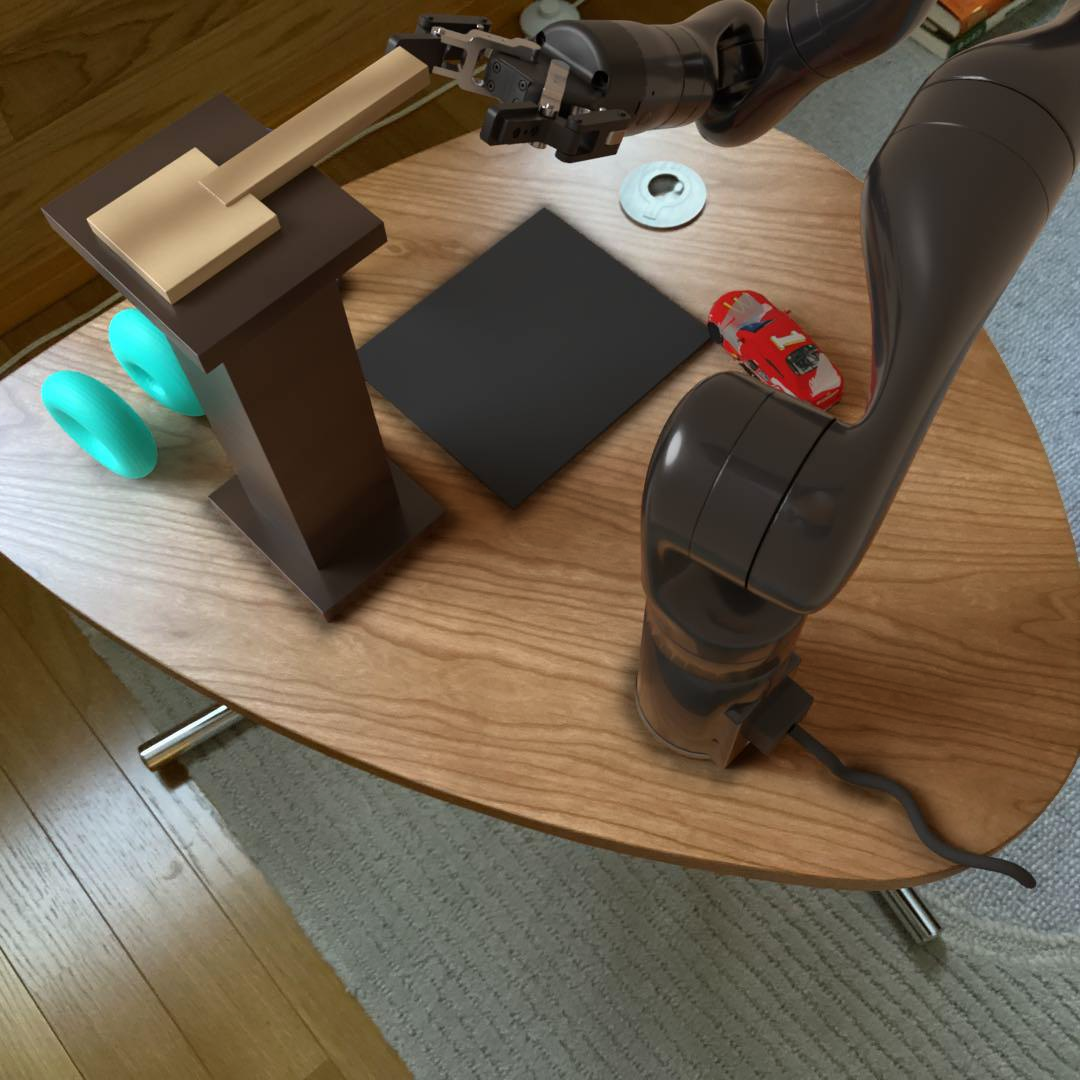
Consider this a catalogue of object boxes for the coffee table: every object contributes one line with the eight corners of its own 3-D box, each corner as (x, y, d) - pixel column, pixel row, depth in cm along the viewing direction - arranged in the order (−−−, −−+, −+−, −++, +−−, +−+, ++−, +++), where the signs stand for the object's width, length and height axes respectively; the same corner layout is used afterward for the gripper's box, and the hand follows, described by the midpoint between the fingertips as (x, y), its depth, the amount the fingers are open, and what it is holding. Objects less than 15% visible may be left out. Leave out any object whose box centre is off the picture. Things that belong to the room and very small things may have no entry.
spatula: (458, 103, 64) (456, 86, 63) (172, 305, 58) (164, 289, 57) (376, 44, 66) (372, 26, 65) (93, 232, 61) (84, 215, 59)
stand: (448, 520, 88) (383, 221, 60) (327, 623, 85) (197, 356, 56) (331, 413, 93) (220, 91, 65) (212, 506, 90) (39, 207, 61)
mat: (715, 336, 96) (715, 332, 95) (513, 511, 89) (513, 508, 88) (544, 210, 103) (544, 206, 102) (345, 363, 96) (344, 359, 95)
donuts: (66, 443, 93) (11, 369, 84) (154, 359, 97) (110, 279, 88) (154, 505, 90) (107, 434, 81) (242, 416, 94) (206, 339, 85)
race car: (692, 322, 96) (699, 289, 92) (744, 294, 97) (753, 261, 94) (795, 434, 91) (806, 405, 87) (848, 403, 92) (861, 373, 89)
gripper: (548, -23, 79) (372, -32, 68) (706, 77, 74) (545, 86, 62) (513, 83, 84) (343, 92, 72) (659, 184, 79) (502, 211, 67)
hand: (437, 89), depth 67 cm, fingers open, 8 cm apart
